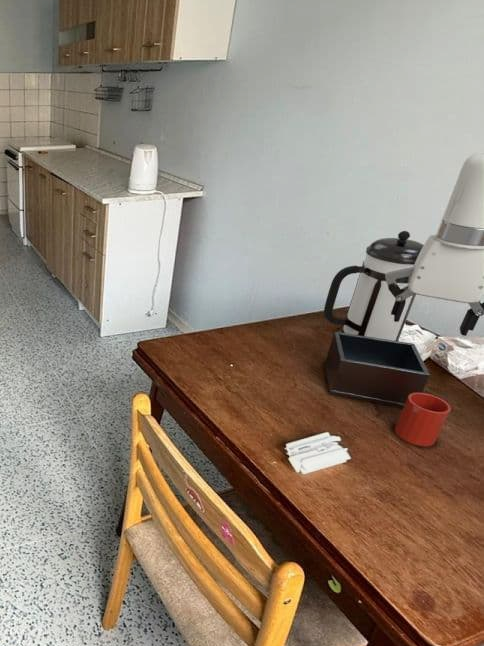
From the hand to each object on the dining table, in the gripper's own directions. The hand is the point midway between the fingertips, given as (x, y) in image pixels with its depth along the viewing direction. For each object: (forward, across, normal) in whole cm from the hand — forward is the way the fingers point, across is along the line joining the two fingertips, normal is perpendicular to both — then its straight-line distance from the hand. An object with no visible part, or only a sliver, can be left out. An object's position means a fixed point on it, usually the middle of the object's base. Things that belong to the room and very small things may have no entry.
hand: (428, 325), depth 85 cm
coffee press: (+23, +7, -35) cm, 42 cm away
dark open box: (+23, +5, -13) cm, 27 cm away
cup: (+23, -4, +1) cm, 23 cm away
